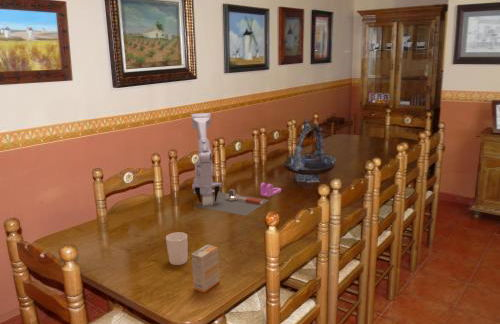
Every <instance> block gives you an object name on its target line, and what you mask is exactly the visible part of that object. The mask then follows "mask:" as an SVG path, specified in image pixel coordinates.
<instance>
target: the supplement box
mask: <svg viewBox="0 0 500 324" xmlns="http://www.w3.org/2000/svg"><path fill="white" fill-rule="evenodd" d="M218 253H219V251H218V246H217V247H216V246H213V245H210V244H206V245H204V246H202V247H201V248H199V249H197V250H195V251H194V252H192V253H190V255H191V265H192V278H193V289H194V290H196V291H198V292H201V293H206V292H207V291H209V290H211V289H212V288H213V287H215V286H216V285H218V284H219V283H220V269H219V268H220V267H219V254H218Z"/></svg>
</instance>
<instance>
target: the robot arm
mask: <svg viewBox="0 0 500 324" xmlns="http://www.w3.org/2000/svg"><path fill="white" fill-rule="evenodd" d="M211 117H212V115H211V113H210V112H202V113H192V114H191V125H192V129H195V130H196V132H197V145H198V155H197V156H198V160H197V161H195V163H194V173H195V174H194V175H195V176H194V179H193V183H192V185H191V187H192V190H193V194H195V195H196V196H197V198H198V201H199V203H201V202H202V198H201V195H203V194H210V193H213V194H214V196H215V201H216V199H217V194H218V193H220V192H219V191H220V189H221V188H222V182H217V181H216V182H215V181H213V176H214V172H215V171H214V165H213V154H212V149H211V146H210V144H211V143H210V140H209V139H208V137H207V134H208V133H207V131H208V130H207V129H209V128H211V127H210V126H211V124H212V123H211V121H212V120H211V119H212V118H211ZM213 188H214V189H213Z"/></svg>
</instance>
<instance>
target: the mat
mask: <svg viewBox="0 0 500 324" xmlns="http://www.w3.org/2000/svg"><path fill="white" fill-rule="evenodd" d="M227 194H229V192H228V193H226V192H221V191H220V192H218V194H217V199H216V201H215V195H213V206H205V207H203V201H201V202H199V203H197V204H196V205H194V207H195V208H201V209H206V210H207V209H208V210H211V211H217V212H223V213H229V214H235V215H240V216H248V215H249V214H251V213H252V212H254V211H255V210H257V209H258V208H260V207H261V206H263V205H265V204H266V203H267V202H269V200H270V199H267V198H266V199H265V198H262V199H263V204H261V205H256V204H250V203H245V202H239V201H233V202H230V201H226V195H227ZM238 195H239V197H245V198H249V197H250V198H256V199H261V198H260V197H259V198H258V197H253V196H248V195H240V194H238Z"/></svg>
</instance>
